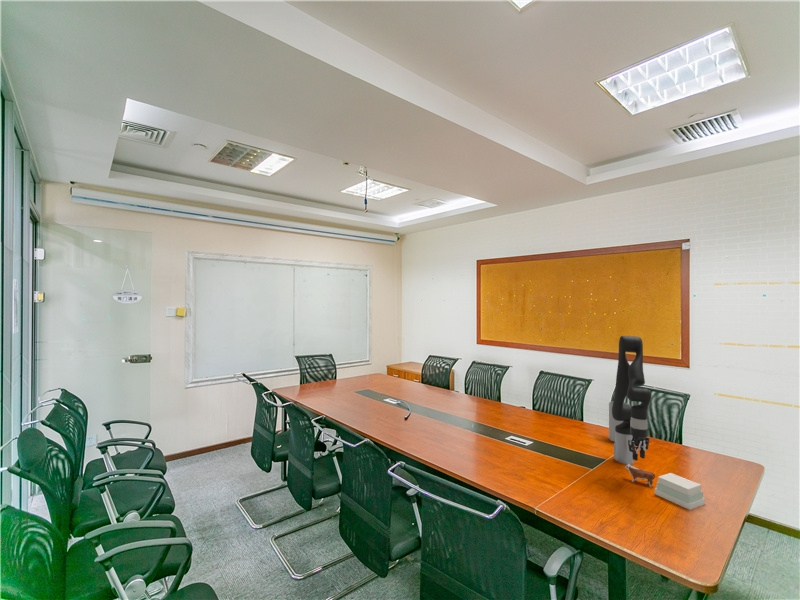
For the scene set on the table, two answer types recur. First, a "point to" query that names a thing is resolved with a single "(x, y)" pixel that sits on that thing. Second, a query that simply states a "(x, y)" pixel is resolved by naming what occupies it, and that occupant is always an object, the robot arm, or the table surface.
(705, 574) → the table surface
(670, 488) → the white stepped block
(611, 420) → the cylinder vase
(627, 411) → the robot arm
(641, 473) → the bull figurine
